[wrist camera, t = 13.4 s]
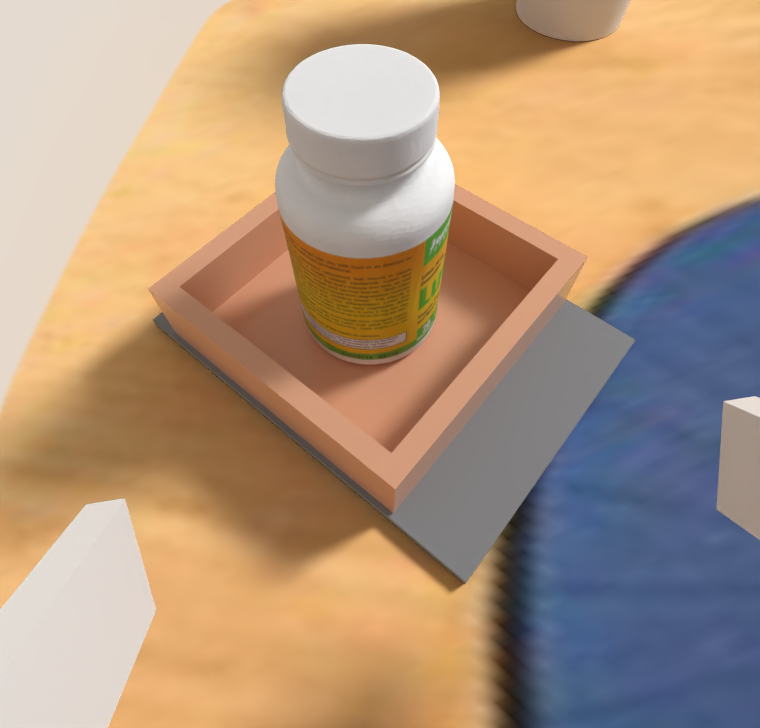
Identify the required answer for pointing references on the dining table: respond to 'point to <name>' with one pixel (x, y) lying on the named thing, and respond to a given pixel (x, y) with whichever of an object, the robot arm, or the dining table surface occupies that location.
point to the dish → (380, 381)
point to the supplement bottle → (365, 199)
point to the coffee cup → (572, 17)
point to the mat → (491, 438)
